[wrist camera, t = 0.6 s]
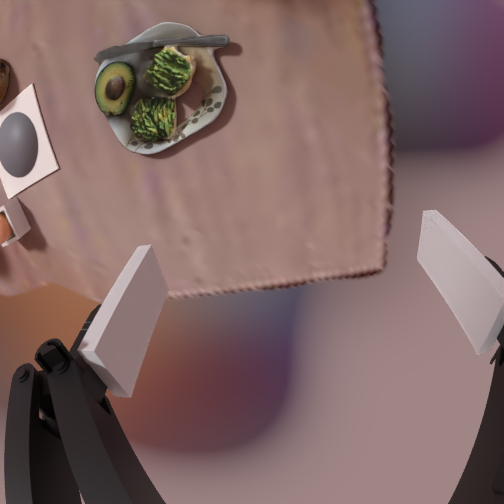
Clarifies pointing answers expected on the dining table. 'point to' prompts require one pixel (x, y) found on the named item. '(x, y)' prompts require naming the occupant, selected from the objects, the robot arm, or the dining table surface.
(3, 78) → the bread roll
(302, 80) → the dining table surface
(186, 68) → the salad plate
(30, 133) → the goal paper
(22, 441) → the robot arm
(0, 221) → the button
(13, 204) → the button housing
